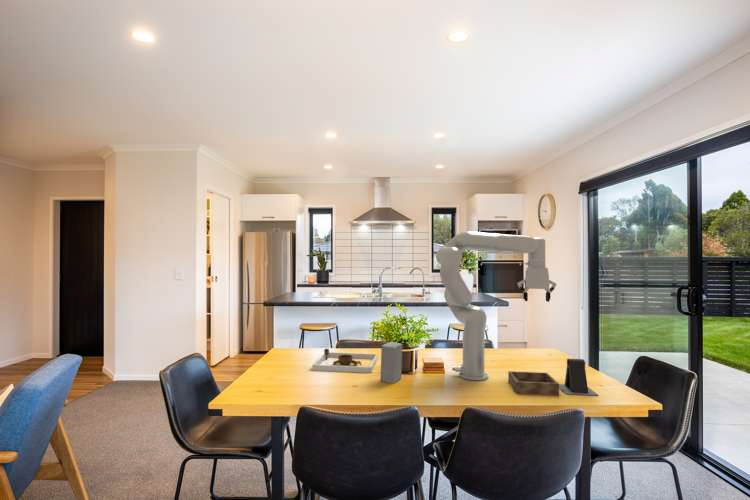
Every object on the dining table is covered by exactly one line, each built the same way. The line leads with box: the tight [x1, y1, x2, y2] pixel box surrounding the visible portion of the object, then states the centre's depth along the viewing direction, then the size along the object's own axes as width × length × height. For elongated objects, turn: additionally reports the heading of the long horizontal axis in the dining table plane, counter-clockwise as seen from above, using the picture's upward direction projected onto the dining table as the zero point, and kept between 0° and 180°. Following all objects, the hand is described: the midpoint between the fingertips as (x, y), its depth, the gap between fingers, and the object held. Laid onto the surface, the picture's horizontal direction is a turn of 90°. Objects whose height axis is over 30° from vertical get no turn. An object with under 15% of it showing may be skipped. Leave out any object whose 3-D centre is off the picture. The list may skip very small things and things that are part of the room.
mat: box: [559, 383, 599, 397], centre depth 161 cm, size 12×12×1 cm
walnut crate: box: [507, 370, 560, 396], centre depth 163 cm, size 16×15×4 cm
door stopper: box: [564, 358, 589, 393], centre depth 161 cm, size 9×6×12 cm, turn 172°
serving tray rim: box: [312, 351, 379, 374], centre depth 197 cm, size 28×26×2 cm
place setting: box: [323, 348, 363, 367], centre depth 200 cm, size 18×20×6 cm
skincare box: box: [380, 341, 403, 385], centre depth 172 cm, size 8×7×16 cm
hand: (536, 301), depth 185 cm, fingers open, 9 cm apart
